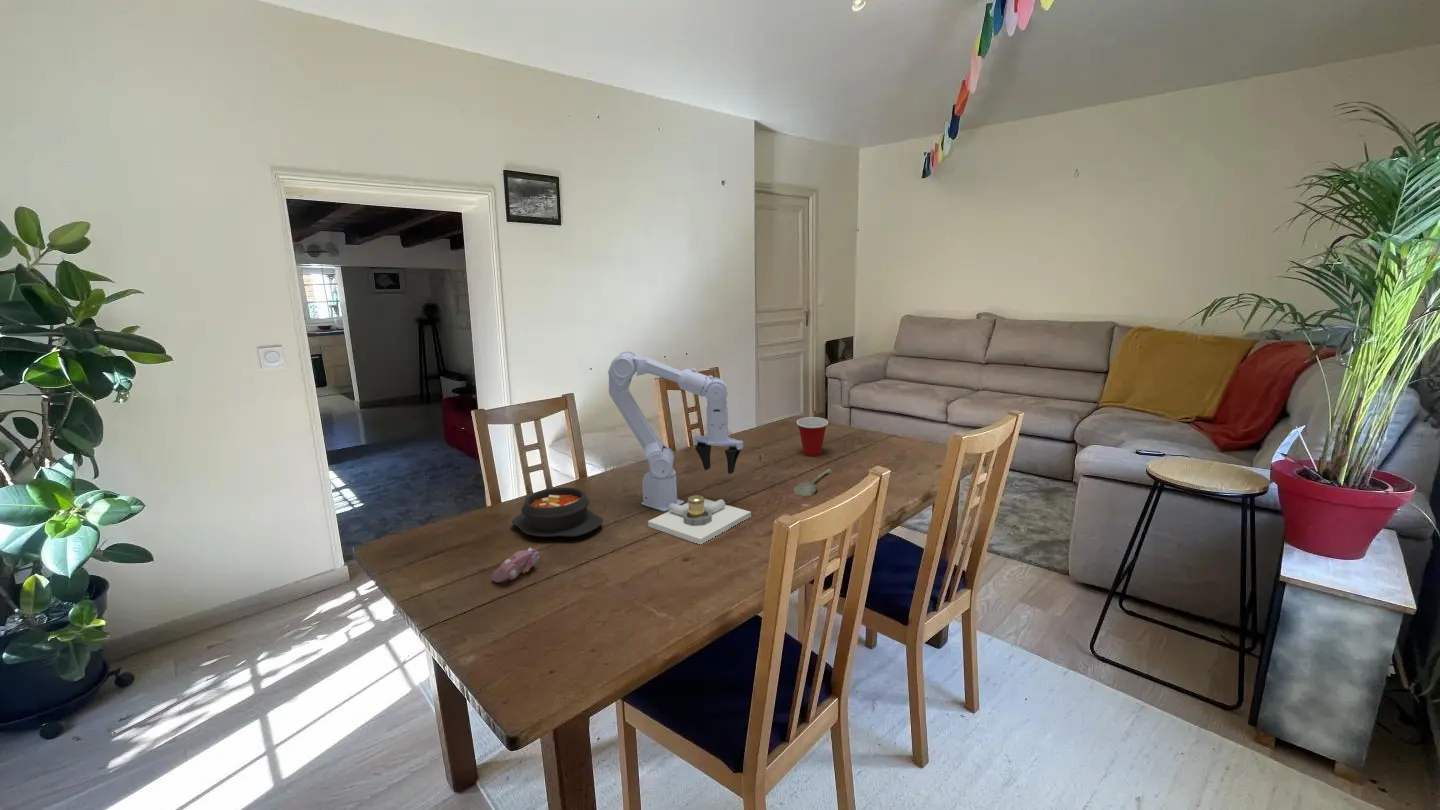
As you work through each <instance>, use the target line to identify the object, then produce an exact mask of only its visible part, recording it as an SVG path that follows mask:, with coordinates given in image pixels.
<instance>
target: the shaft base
mask: <svg viewBox="0 0 1440 810" xmlns="http://www.w3.org/2000/svg"><path fill="white" fill-rule="evenodd" d="M704 512H705V517H704V518H701V519H692V518H689V507H688V502H686V503H683V504H680V505H678V504H674V503H671V504H670V505H669V507H668V510H667V511H666V512H664V513H663V514H660V515H659V516H656V517H654V518H652V519H649V520H647V525H648V528H651V529H654V530H657V531H660V532H663V533H665V534H668V535H671V536H674V537H676V538H679V539H683V540H686V541H688V542H691V543H693V542H694V544H696V543H697V545H699V544H700V546H701V544H702V545H704V544H705V543H707V542H708V540H709V541H710V539H711V540H712V538H713V539H714V538H716V537H718V536H719V534H720V535H721V533H722V532H723V533H725V532H727V531H728V529H729V530H731V529H732V528H734V527H736V526H737V524H738V523H740V522H741V523H743V522H745V521H747V520H749V519H750V518H752V512H751V511H749V510H746V509H742V508H739V507H735V506H732V505H727V504H726V502H725V500H724V499H721V498H720V499H718V500H715V501H714V500H711V499H708V498H707V499H706V498H704ZM749 517H750V518H749ZM748 518H749V519H748ZM746 519H747V520H746ZM744 520H745V521H744ZM742 521H743V522H742ZM741 523H740V524H741ZM735 525H736V526H735ZM738 525H739V524H738ZM733 526H734V527H733ZM731 527H732V528H731ZM730 528H731V529H730ZM726 530H727V531H726ZM724 531H725V532H724ZM723 533H722V534H723ZM717 535H718V536H717ZM715 536H716V537H715ZM706 541H707V542H706ZM704 542H705V543H704ZM703 543H704V544H703Z"/></svg>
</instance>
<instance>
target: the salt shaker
mask: <svg viewBox="0 0 1440 810" xmlns="http://www.w3.org/2000/svg"><path fill="white" fill-rule="evenodd" d="M704 499H705V497H704V496H703V495H697V494H696V495H691V496H689V497H688V498H687V503H688V507H689V518H692V519H701V518H704V517H705V512H704Z"/></svg>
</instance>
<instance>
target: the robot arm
mask: <svg viewBox="0 0 1440 810" xmlns="http://www.w3.org/2000/svg"><path fill="white" fill-rule="evenodd" d="M607 374H608V395H609V396H610V398H611V400H612V401H613V402H614V404H615V406H616V408H617V409H618V411H619V413H620V414H621V415H622V417H623V419H624V420H625V422H626V423H627V425H628V427H629V429H630V430H631V432H632V433H633V434H634V436H635V438H636V440H637V442H638V443H639V445H640V446H641V447H642V450H643V454H644V457H645V460H646V461H647V463H648V469H649V471H647V472H646V473H645V474H644V476H643V478H642V481H641V483H642V486H641V487H642V499H643V500H642V501H641V503H640V504H641V505H643V506H645V507H649V508H651V509H655V510H658V511H660V512H668V511H669V510H668V507H669V505H670V504H671V503H674V504H678V505H683V504H685V501H684V500H681V499H679V498H678V490H677V489H678V487H677V472H676V470H675V469H674V467H673V465H674V462H675V457H676V456H675V452H674V451H673V450H672V449H671V448H670V447H668V446H666V444H665V443H664V441H662V440H661V438H659V437H658V435H657V434H656V432H655V431H654V429H653V428H652V425H651V424H650V422H649V421H648V419H647V417H646V416H645V414H644V412H643V411H642V409H641V408H640V406H639V404H638V403H637V401H636V400H635V397H634V396H633V395H632V393H631V392H630V390H629V389H630V386H631V383H632V379H633V377H634V375H635V374H636V376H637V377H638V376H643V375H646V374H650V375H653V376H656V377H659V378H662V379H665V380H668V381H671V382H674V383H677V385H678V387H679V388H680V390H683V391H685V392H688V393H692V394H694V395H697V396H699V397H705V399H706V409H705V410H706V431H707V433H706V434H707V435H698V434H697V435H695V436H694V437H693V444H695V445H696V446H695V448H694V450H695V451H696V453H697V454H698V456H699V458H700V459H701V462H702V466H703V470H704V471H707V470H709V469H711V452H712V451H711V450H712V446H714V447H715V446H716V447H722V448H723V447H724V448H726V449H725V450H724V453H725V457H726V460H727V461H726V462H727V473H728V474H729V475H732V474H733V473H734V472H735V468H736V464H737V459H738V457H739V455H740V453H741V451H742V449H743V448H744V441H743V440H738V439H735V438H732V437H729V417H728V415H729V414H728V405H727V404H728V403H727V402H728V400H727V397H728V395H729V393H728V389H727V388H728V386H727V384H726V382H725V381H724V380H722V379H721V378H719V377H714V376H713V375H711V374H710V375H706V374H703V373H701V372H699V371H697V369H696V368H694V367H691V369H690V368H685V369H683V370H679V369H676V368H674V367H673V366H669V365H668V364H665V363H662V362H660V361H658V360H655V359H653V358H651V357H647V356H644V355H642V354H639V353H634V352H631V351H623V352H620V353H619V355H618V356H616V357H615V358H614V359H613V360H612V362H610V366H609V368H608V370H607Z"/></svg>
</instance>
